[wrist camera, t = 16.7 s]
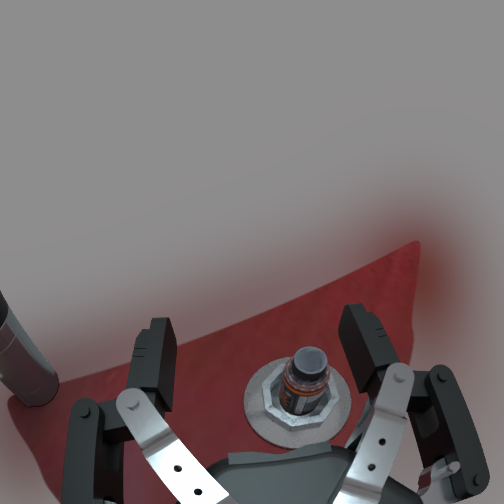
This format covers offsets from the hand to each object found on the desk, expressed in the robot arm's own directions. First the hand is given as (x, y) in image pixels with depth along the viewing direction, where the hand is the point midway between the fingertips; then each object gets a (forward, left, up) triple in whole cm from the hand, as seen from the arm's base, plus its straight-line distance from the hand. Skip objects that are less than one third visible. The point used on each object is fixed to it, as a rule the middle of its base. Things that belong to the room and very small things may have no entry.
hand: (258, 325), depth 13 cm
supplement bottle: (+12, +2, -29) cm, 31 cm away
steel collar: (+12, +2, -30) cm, 32 cm away
